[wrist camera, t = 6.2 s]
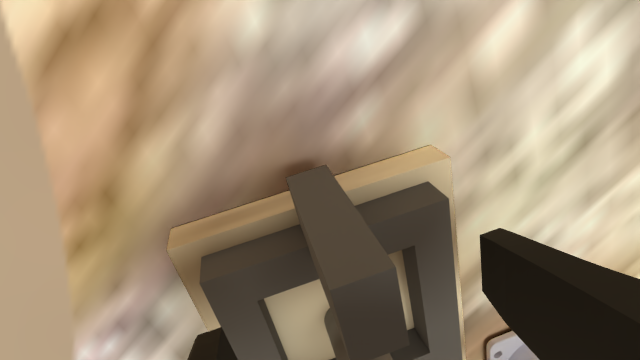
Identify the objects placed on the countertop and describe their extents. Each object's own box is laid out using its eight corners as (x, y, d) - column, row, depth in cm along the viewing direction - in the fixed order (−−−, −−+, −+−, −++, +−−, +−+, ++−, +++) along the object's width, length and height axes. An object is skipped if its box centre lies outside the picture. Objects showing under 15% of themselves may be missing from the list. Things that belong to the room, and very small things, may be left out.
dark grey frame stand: (445, 337, 19) (534, 467, 13) (271, 405, 18) (293, 574, 12) (423, 134, 14) (549, 211, 9) (179, 211, 13) (151, 354, 7)
